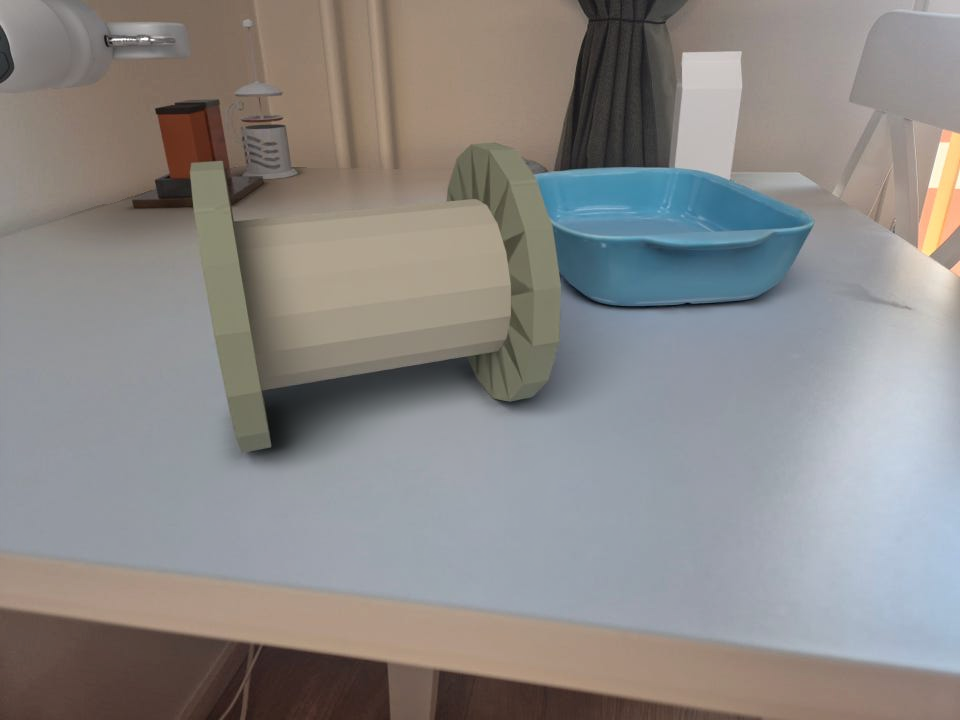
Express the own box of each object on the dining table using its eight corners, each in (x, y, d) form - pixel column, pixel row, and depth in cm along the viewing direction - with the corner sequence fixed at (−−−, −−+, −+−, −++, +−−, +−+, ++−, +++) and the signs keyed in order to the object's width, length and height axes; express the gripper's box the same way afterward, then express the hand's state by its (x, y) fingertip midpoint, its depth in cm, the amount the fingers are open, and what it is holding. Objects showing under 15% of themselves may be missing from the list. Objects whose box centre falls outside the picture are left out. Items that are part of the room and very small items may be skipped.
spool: (468, 342, 51) (462, 132, 44) (556, 440, 38) (565, 164, 32) (237, 379, 46) (193, 148, 39) (248, 506, 33) (186, 194, 27)
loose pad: (172, 195, 99) (154, 108, 94) (188, 187, 105) (171, 104, 100) (204, 194, 99) (188, 107, 94) (218, 186, 105) (203, 104, 100)
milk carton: (726, 210, 89) (747, 51, 81) (670, 209, 90) (685, 52, 82) (717, 199, 95) (736, 51, 87) (665, 199, 96) (679, 52, 88)
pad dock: (133, 208, 97) (110, 109, 92) (180, 185, 114) (162, 99, 108) (231, 205, 97) (214, 106, 92) (263, 183, 114) (251, 97, 108)
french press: (281, 179, 116) (258, 17, 106) (221, 178, 119) (193, 19, 108) (307, 170, 125) (289, 19, 115) (251, 169, 128) (228, 21, 117)
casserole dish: (507, 223, 84) (507, 164, 81) (682, 216, 86) (688, 158, 83) (565, 338, 51) (568, 245, 48) (849, 323, 53) (869, 232, 50)
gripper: (157, 6, 69) (203, 12, 81) (-48, 8, 68) (30, 13, 81) (169, 73, 71) (212, 69, 84) (-28, 75, 71) (45, 71, 84)
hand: (121, 42), depth 82 cm, fingers open, 8 cm apart
